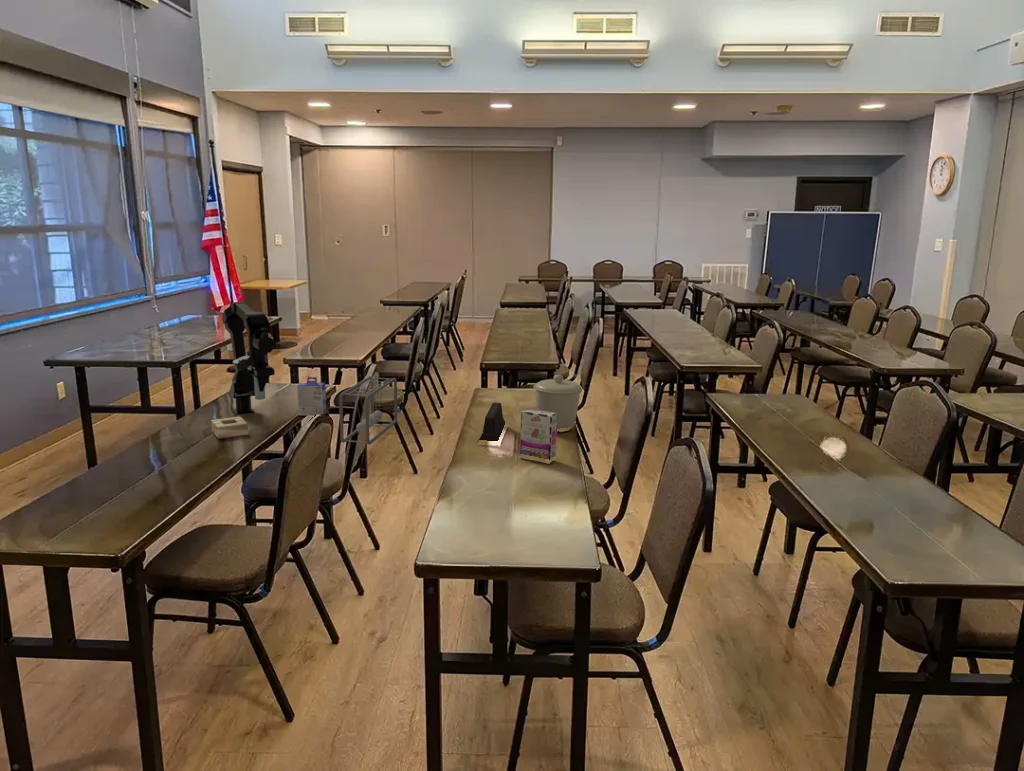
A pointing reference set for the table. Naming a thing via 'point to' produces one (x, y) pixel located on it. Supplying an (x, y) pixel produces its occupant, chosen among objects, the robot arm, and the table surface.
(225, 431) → the jig block
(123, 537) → the table surface
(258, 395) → the pin
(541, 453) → the candy bar box
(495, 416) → the barrier
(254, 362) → the robot arm
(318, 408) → the ink cartridge box
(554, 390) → the canister
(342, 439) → the cube frame
